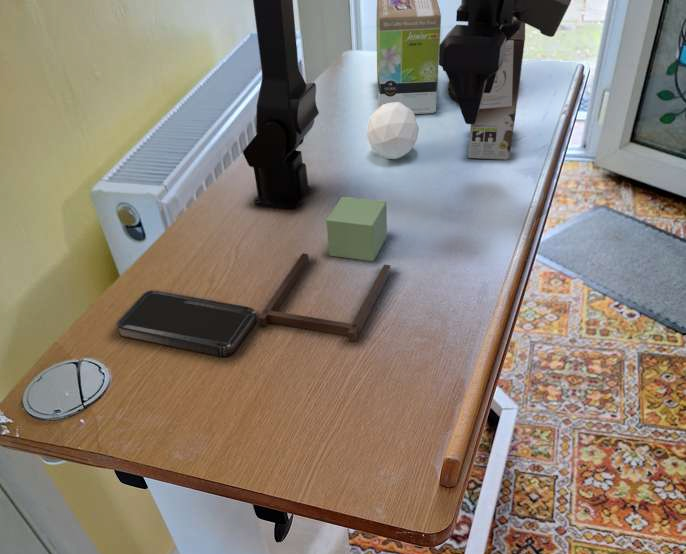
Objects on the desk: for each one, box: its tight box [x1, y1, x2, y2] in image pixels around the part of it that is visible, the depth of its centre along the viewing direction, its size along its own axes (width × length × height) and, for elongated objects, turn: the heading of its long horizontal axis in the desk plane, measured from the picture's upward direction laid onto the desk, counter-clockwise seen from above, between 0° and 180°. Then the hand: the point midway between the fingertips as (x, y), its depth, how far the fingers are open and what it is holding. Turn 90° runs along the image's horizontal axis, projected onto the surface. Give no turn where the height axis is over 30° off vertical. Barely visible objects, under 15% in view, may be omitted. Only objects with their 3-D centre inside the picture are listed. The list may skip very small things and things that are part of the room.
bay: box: [258, 252, 391, 342], centre depth 80 cm, size 12×14×1 cm
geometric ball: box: [366, 102, 420, 160], centre depth 101 cm, size 8×8×8 cm
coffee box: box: [467, 19, 526, 160], centre depth 98 cm, size 9×6×16 cm
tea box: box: [376, 0, 442, 115], centre depth 113 cm, size 15×10×15 cm
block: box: [325, 196, 388, 262], centre depth 85 cm, size 6×6×5 cm
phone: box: [116, 289, 258, 357], centre depth 78 cm, size 8×1×15 cm
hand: (478, 107), depth 79 cm, fingers open, 9 cm apart
